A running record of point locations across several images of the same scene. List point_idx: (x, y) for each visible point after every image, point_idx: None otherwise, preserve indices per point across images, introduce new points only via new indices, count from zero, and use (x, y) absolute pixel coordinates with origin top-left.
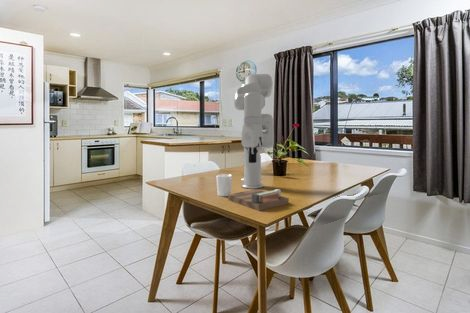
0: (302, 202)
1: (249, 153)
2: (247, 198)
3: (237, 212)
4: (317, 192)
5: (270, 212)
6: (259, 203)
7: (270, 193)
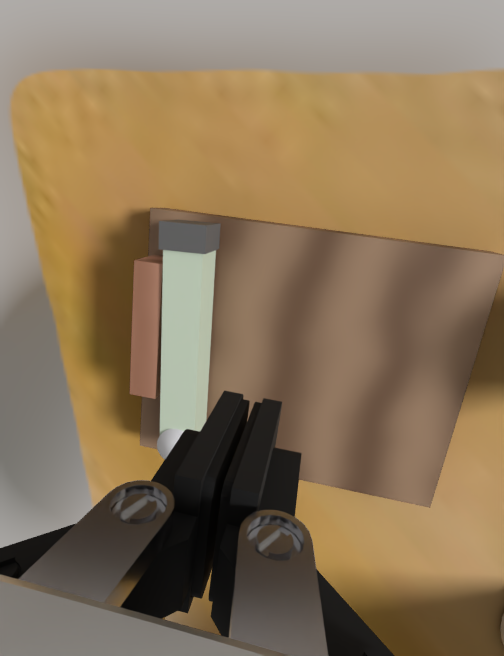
0: None
1: (260, 523)
2: (308, 275)
3: (227, 80)
4: None
5: (105, 233)
6: None
7: (162, 359)
